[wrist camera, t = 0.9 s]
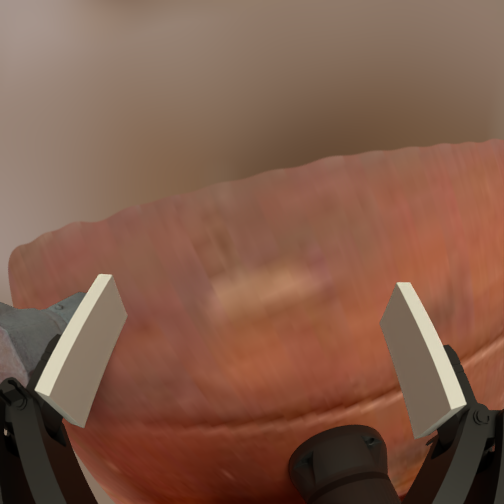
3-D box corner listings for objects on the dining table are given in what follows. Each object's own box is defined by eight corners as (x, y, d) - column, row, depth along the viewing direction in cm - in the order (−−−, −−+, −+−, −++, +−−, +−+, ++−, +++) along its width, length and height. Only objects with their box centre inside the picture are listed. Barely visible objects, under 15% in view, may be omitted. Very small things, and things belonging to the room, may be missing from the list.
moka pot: (104, 264, 31) (-25, 296, 11) (135, 377, 32) (57, 474, 12) (53, 274, 31) (-60, 304, 11) (83, 376, 33) (1, 448, 13)
